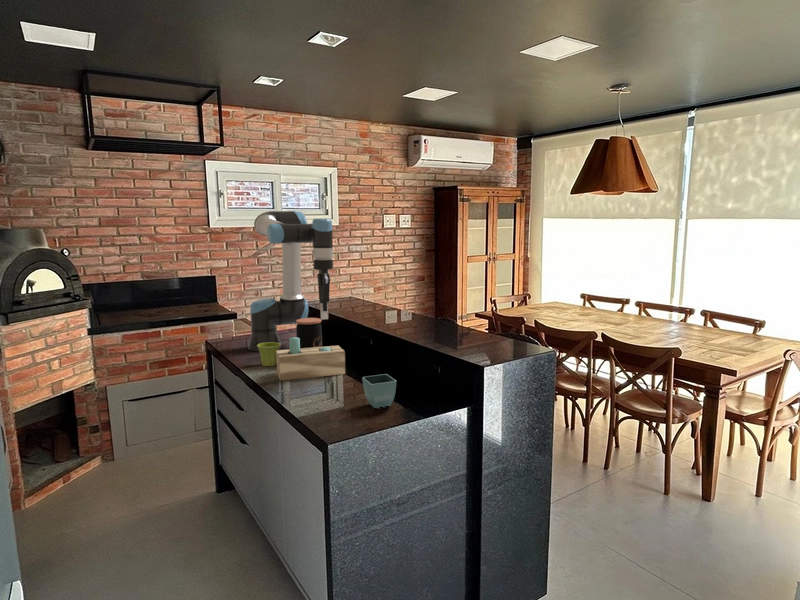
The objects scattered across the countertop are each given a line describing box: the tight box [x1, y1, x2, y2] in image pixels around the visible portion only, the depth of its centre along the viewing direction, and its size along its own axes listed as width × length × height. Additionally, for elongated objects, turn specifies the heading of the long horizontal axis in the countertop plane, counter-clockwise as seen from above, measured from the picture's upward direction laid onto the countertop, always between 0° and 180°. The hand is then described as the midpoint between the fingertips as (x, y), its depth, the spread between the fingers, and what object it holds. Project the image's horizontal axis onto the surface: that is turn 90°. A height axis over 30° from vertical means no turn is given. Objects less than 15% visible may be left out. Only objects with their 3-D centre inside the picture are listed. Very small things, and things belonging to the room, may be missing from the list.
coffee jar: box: [295, 317, 323, 349], centre depth 219 cm, size 11×11×18 cm
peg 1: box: [288, 336, 300, 354], centre depth 198 cm, size 4×4×8 cm
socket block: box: [276, 345, 346, 381], centre depth 201 cm, size 11×25×9 cm, turn 110°
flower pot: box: [361, 373, 397, 409], centre depth 164 cm, size 9×9×9 cm
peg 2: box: [320, 346, 331, 352], centre depth 203 cm, size 4×4×8 cm
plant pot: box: [257, 342, 280, 367], centre depth 214 cm, size 9×9×9 cm
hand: (324, 318), depth 201 cm, fingers closed
